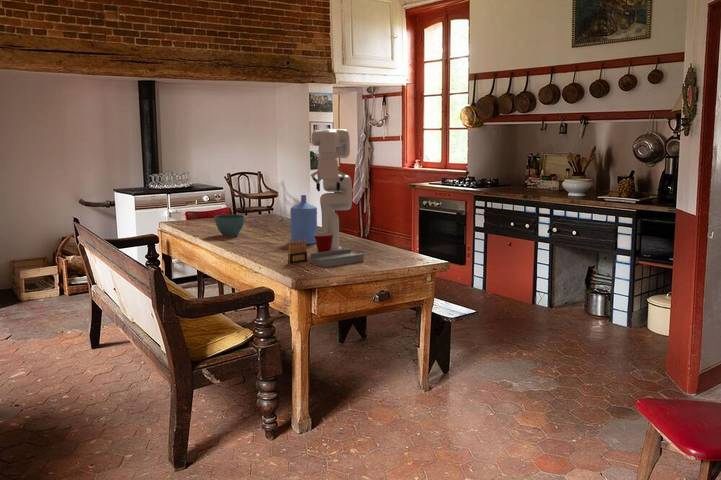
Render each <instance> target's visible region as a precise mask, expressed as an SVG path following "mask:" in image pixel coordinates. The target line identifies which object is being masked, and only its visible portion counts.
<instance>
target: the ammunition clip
mask: <svg viewBox="0 0 721 480" xmlns="http://www.w3.org/2000/svg"><path fill="white" fill-rule="evenodd" d="M300 262H301V263H306V262H308V251H307V245H306V240H305V238H304V244H303V240H302V239H301V245H300V240H299V239H298V244H297V240H295V244H294V240H292V242H291V239H290V240H289V241H288V253H287V264H288V265H294V264H293V263H295V264H301V263H300Z"/></svg>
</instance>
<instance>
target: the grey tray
mask: <svg viewBox="0 0 721 480" xmlns="http://www.w3.org/2000/svg"><path fill="white" fill-rule="evenodd" d="M364 257H365V256H364V253H354V252H352V248H350V247H349V248H342V249H341V250H333V251H326V252H319V253H318V252H313V253H310V264H312V265H316V266H319V267H323V268H329V267H336V266H342V265H343V266H344V265H349V264H355V263H363V262H364V261H365V259H364Z"/></svg>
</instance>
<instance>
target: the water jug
mask: <svg viewBox="0 0 721 480" xmlns="http://www.w3.org/2000/svg"><path fill="white" fill-rule="evenodd" d="M300 196H301V197H300V202H299V203H297V204H295V205H293V206H291V207H290V240H291V243H292V240H294V245H295V240H297V245H298V239H299V240H300V246H301V239H302V240H303V244H304V238H305V240H306V246H307V245H314V244H316V240H315V237H314V234H318V208H317V207H316V206H315V205H314V204H311V203H309V202H308V201H307V195H305V194H301V195H300Z"/></svg>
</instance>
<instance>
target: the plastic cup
mask: <svg viewBox="0 0 721 480" xmlns="http://www.w3.org/2000/svg"><path fill="white" fill-rule="evenodd" d="M333 234H334V233H322V232H320V233H319V232H318V233H317V234H314V237H315V240H316V243H315V244H316V249H317V253H319V252H326V251H330V250H331V245H332V239H333Z"/></svg>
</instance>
